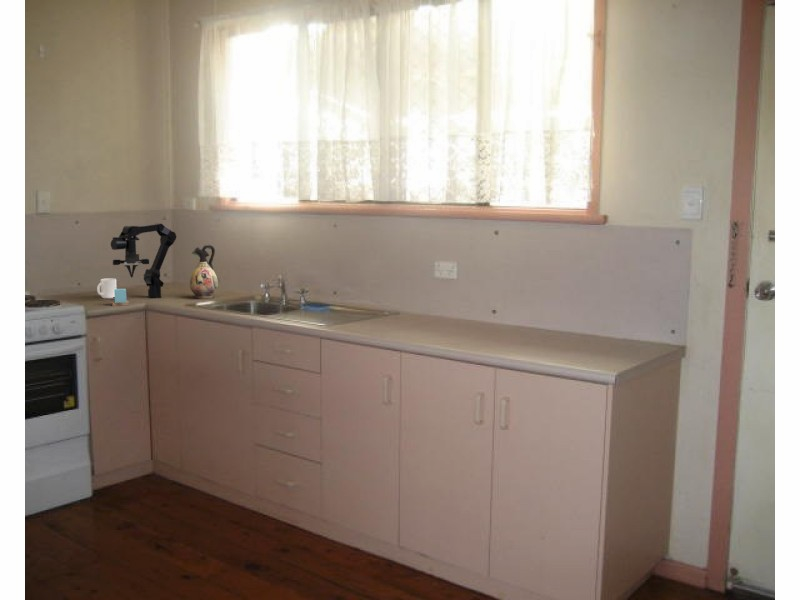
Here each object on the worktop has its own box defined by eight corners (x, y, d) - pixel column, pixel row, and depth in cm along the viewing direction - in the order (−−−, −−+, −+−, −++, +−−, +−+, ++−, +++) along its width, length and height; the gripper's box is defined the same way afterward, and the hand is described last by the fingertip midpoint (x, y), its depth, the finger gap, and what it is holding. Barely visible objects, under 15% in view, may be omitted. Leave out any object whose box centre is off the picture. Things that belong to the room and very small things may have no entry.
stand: (128, 303, 426) (128, 290, 425) (128, 305, 419) (128, 292, 418) (112, 303, 424) (112, 290, 423) (112, 306, 416) (111, 292, 415)
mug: (102, 299, 440) (101, 280, 438) (92, 298, 444) (91, 280, 442) (120, 297, 450) (119, 278, 448) (110, 295, 454) (109, 277, 453)
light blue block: (126, 300, 424) (125, 288, 424) (126, 302, 419) (125, 289, 418) (115, 301, 423) (114, 288, 422) (115, 302, 418) (114, 290, 417)
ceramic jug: (191, 300, 438) (189, 245, 434) (189, 296, 453) (187, 243, 449) (222, 298, 444) (221, 245, 440) (219, 295, 458) (218, 243, 454)
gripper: (111, 250, 424) (113, 279, 426) (148, 249, 429) (149, 278, 432) (112, 248, 434) (113, 277, 436) (148, 248, 440) (149, 276, 442)
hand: (131, 277), depth 436 cm, fingers closed
